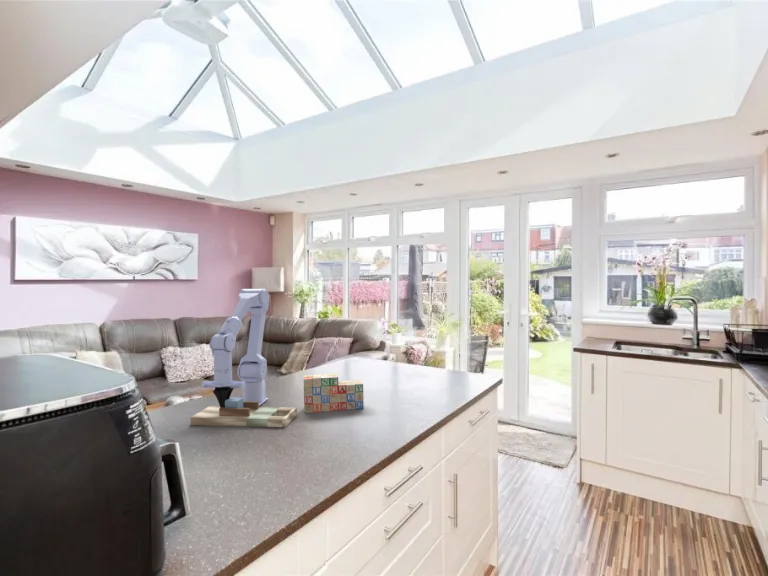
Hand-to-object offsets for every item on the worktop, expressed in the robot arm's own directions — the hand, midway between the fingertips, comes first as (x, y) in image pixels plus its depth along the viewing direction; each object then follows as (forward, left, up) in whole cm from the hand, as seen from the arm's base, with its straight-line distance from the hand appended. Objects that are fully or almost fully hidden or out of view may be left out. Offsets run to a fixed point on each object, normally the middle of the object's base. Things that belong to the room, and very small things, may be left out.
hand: (223, 409), depth 140 cm
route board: (0, +8, -3) cm, 8 cm away
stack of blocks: (-14, +35, -4) cm, 38 cm away
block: (0, +4, -1) cm, 4 cm away
